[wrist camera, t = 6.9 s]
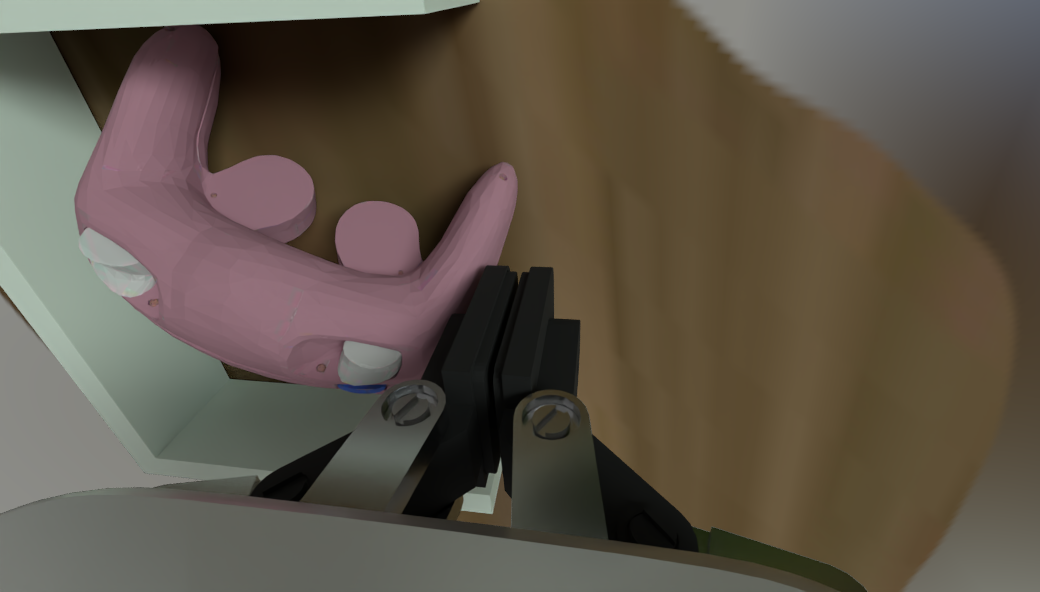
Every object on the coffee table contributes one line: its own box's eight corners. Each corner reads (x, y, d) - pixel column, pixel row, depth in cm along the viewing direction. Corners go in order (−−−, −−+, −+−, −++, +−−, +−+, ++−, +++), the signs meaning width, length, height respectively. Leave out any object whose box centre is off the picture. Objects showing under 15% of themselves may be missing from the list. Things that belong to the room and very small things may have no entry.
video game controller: (221, 127, 15) (57, 308, 12) (167, -10, 11) (-102, 203, 8) (503, 247, 16) (421, 447, 13) (543, 159, 12) (440, 415, 9)
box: (-11, -20, 12) (-232, -17, 9) (475, -52, 10) (414, -64, 7) (217, 394, 21) (144, 473, 17) (512, 419, 19) (492, 514, 15)
